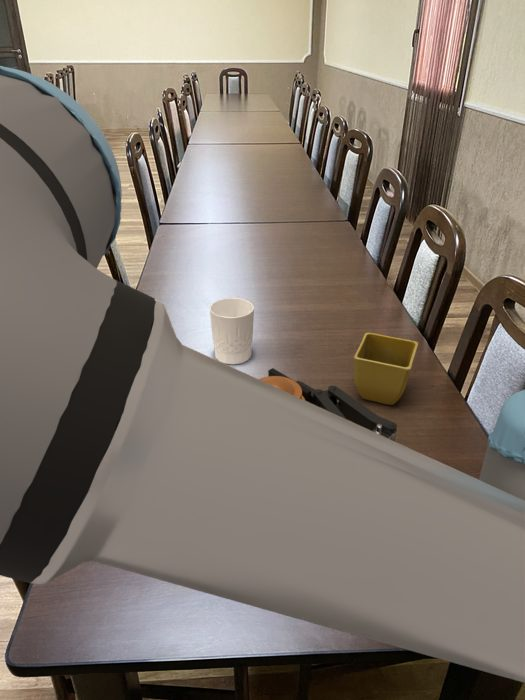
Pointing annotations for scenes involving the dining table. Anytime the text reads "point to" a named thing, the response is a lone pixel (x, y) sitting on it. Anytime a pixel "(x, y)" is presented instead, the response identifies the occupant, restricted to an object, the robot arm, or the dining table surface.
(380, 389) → the flower pot
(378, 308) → the dining table surface
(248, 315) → the white cup
